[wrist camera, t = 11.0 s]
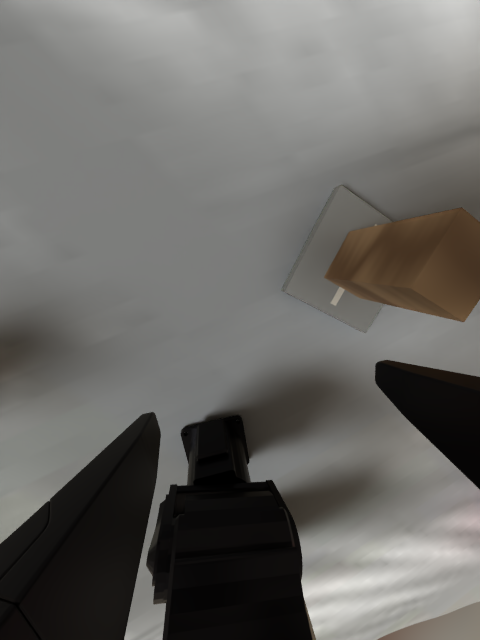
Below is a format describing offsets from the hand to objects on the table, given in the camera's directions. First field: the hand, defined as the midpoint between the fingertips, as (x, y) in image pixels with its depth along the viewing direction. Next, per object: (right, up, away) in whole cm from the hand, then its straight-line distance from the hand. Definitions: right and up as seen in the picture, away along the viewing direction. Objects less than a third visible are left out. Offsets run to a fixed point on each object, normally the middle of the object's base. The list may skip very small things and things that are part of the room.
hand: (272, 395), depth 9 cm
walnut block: (+9, +8, +12) cm, 17 cm away
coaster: (+9, +8, +13) cm, 18 cm away
